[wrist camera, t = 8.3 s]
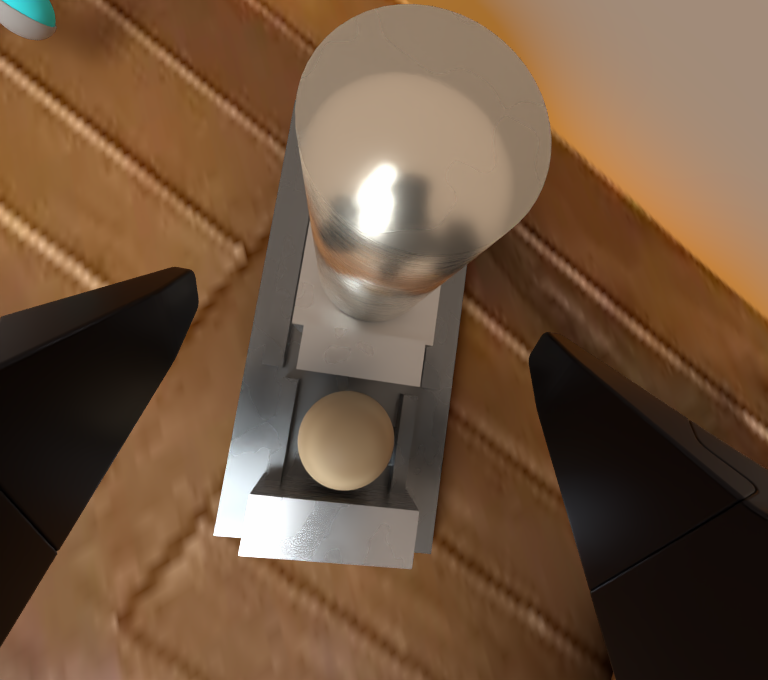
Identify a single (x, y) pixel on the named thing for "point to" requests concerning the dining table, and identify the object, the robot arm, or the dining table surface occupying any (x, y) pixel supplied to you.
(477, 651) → the dining table surface
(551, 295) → the dining table surface
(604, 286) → the dining table surface
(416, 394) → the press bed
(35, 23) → the perfume bottle
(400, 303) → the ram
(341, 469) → the tan round ball
